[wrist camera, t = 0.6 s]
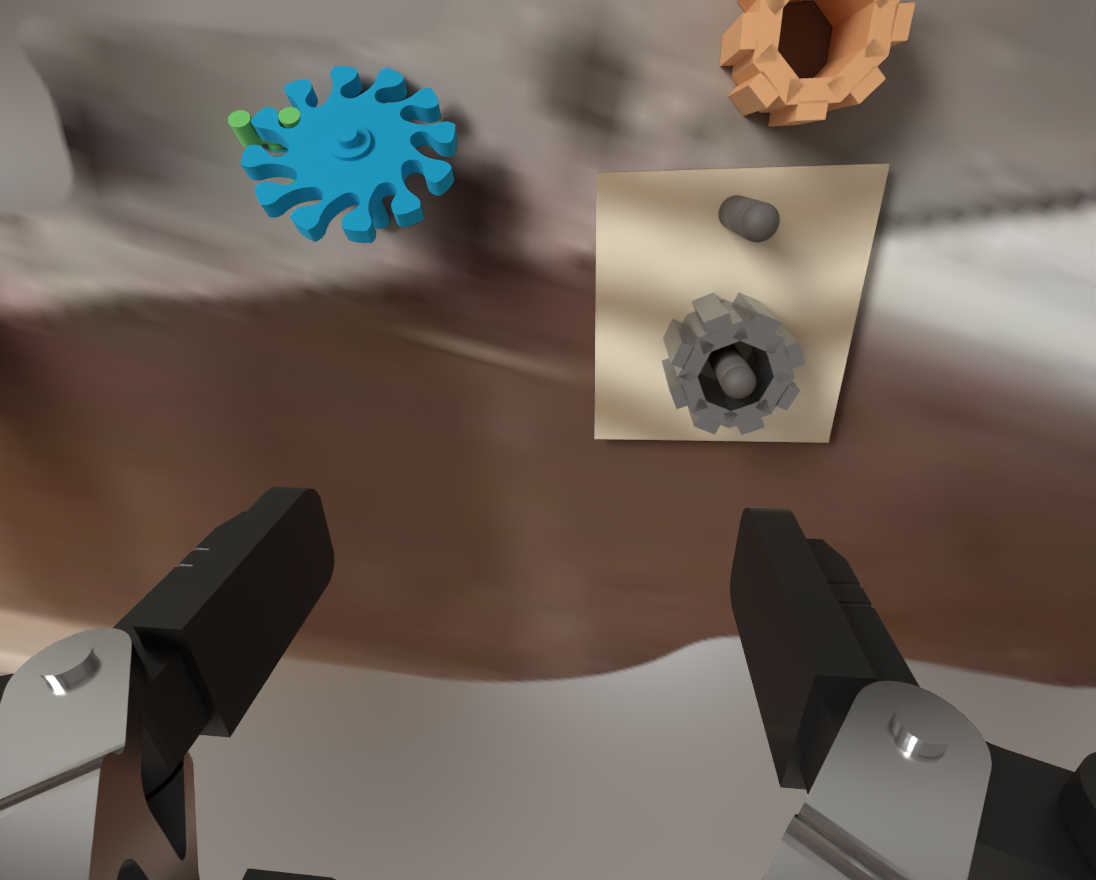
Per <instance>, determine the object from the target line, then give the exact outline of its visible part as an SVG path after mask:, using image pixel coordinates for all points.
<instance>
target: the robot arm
mask: <svg viewBox="0 0 1096 880" xmlns="http://www.w3.org/2000/svg"><path fill="white" fill-rule="evenodd" d="M333 568H334V551H333V547H332V543H331V539H330V535H329V531H328V527H327V523H326V519H325V515H324V511H323V507H322V503H321V499H320V496H319V494H318V493H317V491H316V490H314V489H309V488H285V487H273V488H271V489H269V490H268V491H267V492H266V493H265V494H264V495H263V496H262V497H261V498H260V499H259V500H258V501H257V502H256V503H255V504H254V505H253V506H252V507H251V508H250V509H249V510H248V511H247V512H242V513H240V514H239V515H237V516H235V517H233V518H232V519H230V520H228V521H227V522H225V523H223V524H221V525H220V526H218V527H216V528H215V529H214V530H213V531H212V532H211V533H210V534H209V535H208V536H207V537H206V538H205V539H204V540H203V541H202V542H201V543H200V544H199V545H198V546H197V549H196V551H192V552H191V553H189V554H188V555H187V556H186V557H185V558H184V559H183V560H182V561H181V562H180V566H179V567H175V568H174V569H173V570H172V571H171V572H170V573H169V574H168V575H167V576H166V577H165V578H164V579H163V580H162V581H161V582H160V583H159V584H157V585H156V586H155V587H154V588H153V589H152V590H151V591H150V592H149V593H148V594H147V595H146V596H145V597H144V598H143V599H142V600H141V601H140V602H139V603H138V604H137V605H136V606H135V607H134V608H133V609H132V610H131V611H130V612H129V613H128V614H127V615H125V616H124V617H123V618H122V619H121V620H120V621H119V622H118V623H117V624H116V625H115V626H114V627H113V628H98V629H92V630H87V631H84V632H80V633H77V634H74V635H72V636H69V637H66V638H64V639H62V640H60V641H58V642H56V643H54V644H52V645H50V646H48V647H47V648H45V649H43V650H42V651H40V652H39V653H37V654H36V655H34V656H33V657H32V658H30V659H29V660H28V661H27V662H26V663H24V664H23V665H22V666H21V667H20V668H19V669H18V670H17V671H16V672H15V673H14V674H9V675H3V676H0V880H200V878H199V871H198V855H197V833H196V812H195V790H194V769H193V760H192V757H191V755H190V753H189V751H188V750H189V749H190V747H191V746H192V745H193V743H194V742H195V740H196V739H197V737H198V736H199V735H209V736H220V737H221V736H222V737H231V735H232V733H233V732H234V730H235V729H236V727H237V726H238V724H239V723H240V721H241V719H242V718H243V716H244V715H245V713H246V712H247V710H248V709H249V707H250V705H251V704H252V702H253V700H254V699H255V698H256V696H257V694H258V693H259V691H260V690H261V688H262V687H263V685H264V684H265V682H266V681H267V679H268V677H269V676H270V674H271V672H272V671H273V669H274V668H275V667H276V665H277V663H278V662H279V660H280V659H281V657H282V656H283V654H284V652H285V651H286V649H287V648H288V646H289V645H290V643H291V642H292V640H293V638H294V637H295V635H296V634H297V632H298V631H299V629H300V628H301V626H302V624H303V623H304V621H305V620H306V618H307V617H308V615H309V613H310V612H311V610H312V609H313V607H314V606H315V604H316V603H317V601H318V599H319V598H320V596H321V595H322V593H323V592H324V590H325V589H326V587H327V585H328V584H329V582H330V579H331V576H332V573H333ZM730 595H731V604H732V609H733V613H734V617H735V620H736V624H737V628H738V632H739V635H740V639H741V643H742V646H743V650H744V654H745V657H746V661H747V665H748V669H749V672H750V676H751V679H752V683H753V687H754V690H755V695H756V698H757V702H758V706H759V709H760V713H761V717H762V721H763V724H764V728H765V732H766V735H767V739H768V743H769V746H770V750H771V754H772V757H773V761H774V765H775V769H776V772H777V776H778V780H779V783H780V787H783V788H796V789H806V790H807V794H808V796H807V798H806V800H805V802H804V805H803V806H802V808H801V810H800V812H799V814H798V815H797V814H795V816H794V817H793V818H792V820H791V822H790V824H789V825H788V827H787V829H786V831H785V833H784V835H783V837H782V839H781V841H780V843H779V845H778V847H777V849H776V851H775V853H774V855H773V857H772V859H771V861H770V863H769V865H768V867H767V869H766V871H765V873H764V875H763V877H762V879H761V880H1096V752H1095V753H1092V754H1090V755H1088V756H1087V757H1086V758H1085V759H1084V760H1083V762H1082V763H1081V764H1080V766H1079V767H1078V768H1077V770H1076V771H1075V772H1073V771H1069V770H1067V769H1063V768H1061V767H1058V766H1055V765H1051V764H1048V763H1045V762H1042V761H1039V760H1036V759H1033V758H1030V757H1027V756H1024V755H1021V754H1018V753H1015V752H1012V751H1009V750H1006V749H1004V748H1001V747H998V746H995V745H993V744H990V743H988V742H986V741H985V740H984V739H983V737H982V735H981V734H980V732H979V731H978V729H977V728H976V727H975V726H974V724H973V723H972V722H971V721H970V720H969V719H968V718H967V717H966V716H965V715H964V714H963V713H962V712H960V711H959V710H958V709H957V708H956V707H954V706H953V705H952V704H950V703H949V702H947V701H946V700H944V699H943V698H941V697H939V696H937V695H935V694H934V693H932V692H930V691H927V690H925V689H923V688H920V686H919V685H918V683H917V682H916V680H915V678H914V676H913V674H912V673H911V671H910V669H909V668H908V666H907V664H906V662H905V661H904V659H903V657H902V655H901V654H900V652H899V650H898V649H897V647H896V645H895V643H894V642H893V640H892V638H891V636H890V635H889V633H888V631H887V629H886V628H885V626H884V624H883V623H882V621H881V619H880V617H879V616H878V614H877V612H876V610H875V609H874V608H871V602H870V600H869V598H868V597H867V595H866V593H865V591H864V590H863V588H860V583H859V581H858V579H857V578H856V576H855V574H854V572H853V571H852V569H851V567H850V565H849V564H848V562H847V560H846V559H845V558H843V557H842V556H841V555H840V554H839V553H838V552H836V551H835V550H834V549H833V548H832V547H831V546H829V545H828V544H827V543H826V542H825V541H823V540H822V539H806V538H805V536H804V534H803V532H802V530H801V528H800V526H799V524H798V522H797V520H796V518H795V516H794V514H793V513H792V511H791V510H788V509H764V508H745V509H744V511H743V513H742V517H741V521H740V527H739V532H738V538H737V543H736V549H735V555H734V560H733V566H732V571H731V579H730ZM242 880H335V879H333V878H331V877H321V876H312V875H303V874H294V873H285V872H275V871H265V870H257V869H247V871H246V873H245V875H244V877H243V879H242Z"/></svg>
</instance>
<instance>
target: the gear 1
mask: <svg viewBox="0 0 1096 880" xmlns="http://www.w3.org/2000/svg"><path fill="white" fill-rule="evenodd" d="M691 302H692V305H693V308H694V312H692V313H689V314H687V315H686V316H685V318H684V320H683V322H680V321H677V320H675V319H672V320H671V322H670V324H669V326H668V328H667V331H666V333H665V335H664V337H663V340H664V343H665V347H666V350H667V353H668V357H669V358H667V359H664V360H662V364H663V368H664V372H665V376H666V380H667V383H668V387H669V391H670V393H671V396H672V398H673V401H674V404H675V406H676V409H679V408H682V407H685V406H687V407H688V410H689V413H690V416H691V419H692V422H693V425H694V427H696V428H699V429H701V430H704V431H706V432H709V433H712V434H714V435H715V434H716V432H717V430H718V429H719V427H720V425H722V426H724V427H727V428H732V427H735V426H737V427H738V429H739V431H740V433H741V435H743V434H746V433H749V432H752V431H755V430H758V429H761V428H764V423H763V420H762V417H765V416H768V415H771V414H772V412H773V411H774V409H775V407H776V406H777V407H779V408H782V409H784V410H788V408H789V407H790V405H791V404H792V402H793V401H794V399H795V398H796V396H797V395H798V393H799V392H800V389H799V388H798V387H797V386H796V384H795V383H794V382H793V379H794V378H795V376H794V373H793V368H796V367H799V366H802V365H804V364H805V362H804V358H803V354H802V351H801V347H800V343H799V341H798V340H797V339H796V338H795V337H793V336H792V335H791V334H790V333H789V332H788V331H787V330H786V329H785V328H784V327H783V326H782V325H781V321H780V320H779V319H778V318H777V317H776V316H775V315H774V314H772V313H771V312H770V311H769V310H768V309H767V308H766V307H765V306H764V305H763V304H762V303H761V302H760V301H758V300H756V299H754V298H751V297H749V296H746V295H744V294H742V293H739V292H738V294H737V296H736V298H735V300H734V301H733V303H732V302H730V301H728V300H722V301H719V300H718V298H717V297H716V296H715V294H714V293H711V294H708V295H706V296H703V297H701V298H698V299H696V300H693V301H691ZM738 341H742V342H744V343H747V344H749V345H752V348H753V350H752V352H751V353H750V355H749V357H748V359H747V360H746V362H747V364H748V365H749V367H750V368H751V370H752V371H753V373H754V375H755V377H756V386H755V389H754V390H753V392H752V393H751V394H750V395H748V396H747V397H744V398H741V399H736V398H732V397H729V396H728V395H727V394H726V393H725V392H724V391H723V389H722V387H721V385H720V383H719V381H718V379H717V380H715V379H712V378H710V377H707V376H705V375H702V374H700V371H701V369H702V368H703V366H704V364H705V362H706V360H707V358H708V357H709V355H710V353H711V352H712V351H714V350H717V349H720V348H722V347H725V346H728V345H730V344H733V343H736V342H738Z"/></svg>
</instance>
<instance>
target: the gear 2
mask: <svg viewBox="0 0 1096 880" xmlns="http://www.w3.org/2000/svg"><path fill="white" fill-rule="evenodd" d="M804 1H815V3H816V4H817V6H818V7H819V8H820V10H821V11H822V12H823V14H824V15H825V17H826V18H827V19H828V21H829V22H830V24H831V25H832V26H833V28H832V35H831V41H830V47H829V53H828V59H827V64H826V65H825V66H824V67H823V68H822V69H821V70H820V71H819V72H818V73H817V74H816V75H815V76H814V77H813V78H803V79H799V78H798V76H797V75H796V74H795V73H794V71H793V70H792V69H791V67H790V66H789V65H788V63H787V62H786V61H785V59H784V58H783V57H782V56H781V54H780V53H779V52H778V44H779V37H780V29H781V21H782V13H783V7H784V6H785V5H786V4H787V3H788V2H804ZM899 1H900V0H738V1H737V2H738V4H739V5H740V6H741V8H742V9H743V10H744V11H745V13H743V14H742V15H741V16H740V17H739V18H738V19H737V20H736V22H735V23H734V24H733V25H732V26H731V27H730V28H729V29H728V30H727V31H726V33H725V34H724V35H723V37H722V48H721V59H720V66H733V69H732V79H733V80H734V81H735V82H736V84H737V85H738V86H737V87H736V88H735V89H734V90H733V91H732V92H731V94H730V95H729V96H728V97H729V99H730V100H731V101H732V102H733V103H734V105H735V106H736V107H737V108H738V110H739V111H740V112H741V113H742V115H743V116H745V115H748V114H751V113H754V112H757V111H759V112H760V113H770V116H769V124H768V127H772V126H794V125H799V124H805V123H810V122H815V121H821V120H825V119H826V113H827V111H831V110H835V109H840V108H844V107H849V106H853V105H857V104H860V103H861V102H862V101H863V100H864V99H865V98H866V97H867V96H868V95H869V94H870V93H871V92H872V91H874V90H875V89H876V88H877V87H878V86H879V85H880V84H881V83H882V82H883V81H884V80H885V79H886V78H885V77H884V75H883V74H882V72H881V71H880V70H879V68H878V67H877V66H878V65H879V64H880V63H881V62H882V61H883V60H885V59H886V58H887V57H888V55H889V50H890V47H892V46H895V45H897V44H900V43H902V42H905V41H907V40H908V35H909V30H910V26H911V21H912V16H913V12H914V7H915V2H913V3H899Z"/></svg>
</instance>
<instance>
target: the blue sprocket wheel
mask: <svg viewBox="0 0 1096 880" xmlns="http://www.w3.org/2000/svg"><path fill="white" fill-rule="evenodd" d="M330 74H331V78H332V81H333V89H332V92H331V94H330V96H329V98H328V99H327V101H326V102H325V104H324V105H322V106H320V107H316V106H317V104H318V99H317V96H316V94H315V92H314V89H313V87H312V85H311V82H310V81H309V80H308V79H302V80H298V81H294V82H292V83H289V84H287V85H285V87H284V90H285V93H286V95H287V97H288V99H289V101H290V103H291V105H292V107H287V108H284V109H282V110H281V111H280V112H279V115H278V113H277V111H276V110H275V109H273V108H271V107H266V108H264V109H262V110H261V111H259V112H258V113H257V114H256V115H255V116H254V117H253V118H251V116H250V115H249V113H248V112H246V111H243V110H239V111H235V112H233V113H232V114H230V116H229V118H228V123H229V124H230V126H231V128H232V129H233V131H234V132H235V134H236V135H237V137H238V139H239V140H240V142H241V143H242V145H243V146H244V148H246V149H245V151H244V153H243V156H242V160H241V165H242V167H243V168H244V170H245V171H246V173H247V174H248V176H249V178H251V179H253V180H264V179H267V178H273V177H286V178H290V179H291V181H292V183H291V184H289V185H280V184H277V183H274V182H262V183H260V184H258V185H257V186H255V192H256V196H257V198H258V200H259V202H260V204H261V205H262V207H263V208H264V210H265V211H266V213H267V214H268V216H269V217H271V218H274V217H279V216H281V215H283V214H284V213H285V212H286V211H287V210H289V209H290V208H292V207H293V206H295V205H297V204H300V203H303V202H307V201H313V200H321V201H320V202H319V203H317V204H315V205H310V206H303V207H299V208H297V209H296V210H294V211H293V212H292V214H291V216H290V218H291V219H292V221H293V223H294V224H295V226H296V228H297V229H298V231H299V232H300V233H301V234H302V235H303V236H305V237H306V238H308V239H310V240H312V241H314V242H316V241H318V240H320V239H321V238H322V237H323V236H324V235H325V233H326V229H327V227H328V225H329V223H330V222H331V220H332V219H333V218H334V217H335V216H336V215H337V214H339V213H340V212H341V211H343V210H344V209H346V208H348V207H350V206H353V205H359V206H358V207H357V208H356V209H354V210H353V211H351V212H349V213H348V214H346V215H345V216H344V218H343V220H342V228H343V230H344V232H345V234H346V236H347V238H348V240H350V241H353V242H358V243H372V242H373V241H374V240H375V238H376V230H375V228H377V229H382V228H385V227H387V226H388V225H389V223H390V219H389V216H388V213H387V211H386V208H385V205H384V203H383V200H382V198H383V197H385V196H388V195H394V196H395V197H394V199H393V201H392V204H391V208H392V211H393V214H394V217H395V219H396V222H397V224H398V225H399V226H400V227H407V226H411V225H413V224H416V223H418V222H420V221H422V220H424V214H423V210H422V207H421V203H420V200H419V199H418V197H417V196H415V195H414V194H412V193H411V192H410V191H409V190H408V189H407V188H406V186H405V179H406V178H407V176H409V175H410V174H413V173H420V174H422V175H424V176H425V179H426V183H427V187H428V190H429V191H430V192H431V193H432V194H434V195H437V196H440V195H442V194H443V193H444V192H446V191H447V190H448V189H449V188H450V186H451V185H452V184H453V182H454V177H453V171H452V167H451V166H450V164H449V163H447V162H445V161H442V160H435V159H431V158H428V157H426V156H424V155H422V154H421V153H420V152H418V151H417V150H416V148H417V147H419V146H422V145H427V146H430V147H432V148H433V149H434V150H435V151H436V152H437V153H438V154H439V155H441V156H444V157H451V156H454V154H455V152H456V149H457V133H456V127H455V124H454V123H451V122H440V123H437V124H432V125H420V124H415V123H411V122H408V121H410V120H420V121H423V122H427V123H433V122H437V121H439V120H440V119H441V113H440V108H439V103H438V99H437V96H436V94H435V93H434V91H433V90H432V89H431V88H424V89H421V90H419V91H418V92H417V93H416V94H414V95H413V96H411V97H410V98H408V99H406V100H403V101H400V100H402V99H404V98H405V97H406V95H407V93H408V92H407V88H406V84H405V80H404V77H403V76H402V75H401V74H399V73H398V72H396V71H395V70H392V69H390V68H388V67H387V68H384V69H382V70H381V71H380V72H379V73H378V76H377V79H376V81H375V83H374V84H373V85H372V87H371V88H369V89H368V90H367V91H366V92H364V93H362V94H361V95H359V96H357V95H358V94H359V93H360V92H361V90H362V84H361V81H360V78H359V75H358V72H357V69H355V68H353V67H347V66H335V67H333V68H332V70H331V73H330ZM355 96H357V97H355ZM353 97H355V98H353ZM396 101H400V102H396ZM388 102H394V103H388ZM261 145H262V147H261Z"/></svg>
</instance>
